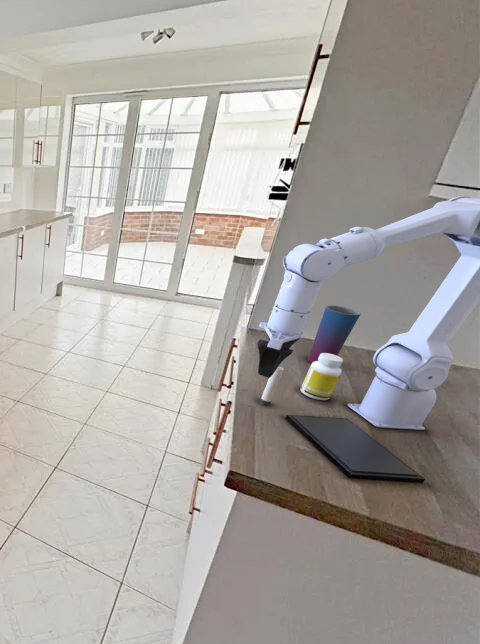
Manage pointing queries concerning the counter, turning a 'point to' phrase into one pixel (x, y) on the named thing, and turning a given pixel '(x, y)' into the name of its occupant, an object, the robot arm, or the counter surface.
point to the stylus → (271, 386)
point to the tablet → (353, 449)
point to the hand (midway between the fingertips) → (268, 369)
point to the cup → (333, 330)
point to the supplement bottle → (322, 377)
